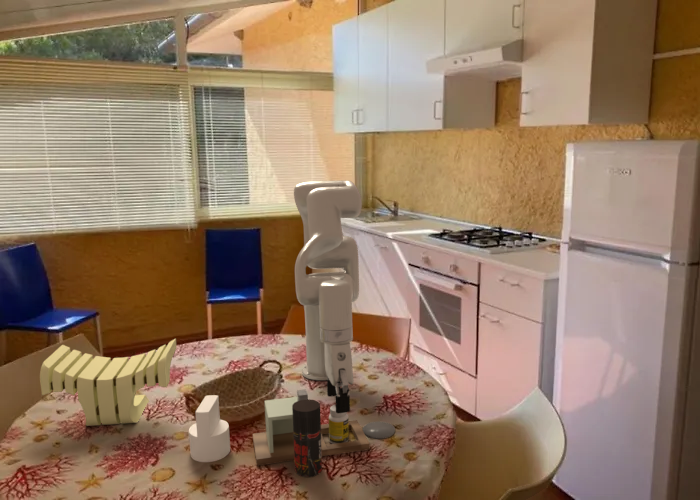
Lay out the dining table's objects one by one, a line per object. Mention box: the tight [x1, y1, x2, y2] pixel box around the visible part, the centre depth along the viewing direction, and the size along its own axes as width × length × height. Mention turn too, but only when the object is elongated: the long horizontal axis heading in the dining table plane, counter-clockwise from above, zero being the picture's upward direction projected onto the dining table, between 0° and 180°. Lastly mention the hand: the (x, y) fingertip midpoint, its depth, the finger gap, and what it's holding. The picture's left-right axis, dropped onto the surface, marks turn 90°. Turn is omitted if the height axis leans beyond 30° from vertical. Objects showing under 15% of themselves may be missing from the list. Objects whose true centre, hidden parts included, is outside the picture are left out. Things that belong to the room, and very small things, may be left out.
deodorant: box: [292, 398, 323, 478], centre depth 127 cm, size 6×6×15 cm
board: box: [252, 419, 371, 467], centre depth 138 cm, size 12×26×2 cm, turn 103°
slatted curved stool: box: [39, 338, 177, 427], centre depth 154 cm, size 30×16×18 cm, turn 96°
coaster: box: [362, 420, 396, 440], centre depth 144 cm, size 8×8×1 cm
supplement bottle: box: [328, 404, 350, 444], centre depth 139 cm, size 5×5×8 cm
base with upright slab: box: [188, 394, 231, 463], centre depth 135 cm, size 9×9×12 cm
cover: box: [264, 389, 309, 453], centre depth 136 cm, size 9×10×12 cm
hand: (338, 403), depth 138 cm, fingers open, 9 cm apart
